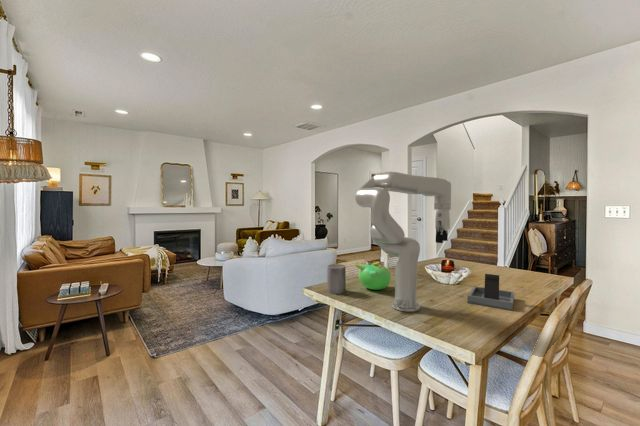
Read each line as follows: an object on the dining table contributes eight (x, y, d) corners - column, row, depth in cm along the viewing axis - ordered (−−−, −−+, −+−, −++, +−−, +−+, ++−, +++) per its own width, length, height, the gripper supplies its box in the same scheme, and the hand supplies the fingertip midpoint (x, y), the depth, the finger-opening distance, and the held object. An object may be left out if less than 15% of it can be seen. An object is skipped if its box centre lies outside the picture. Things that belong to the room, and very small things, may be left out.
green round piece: (396, 290, 164) (397, 263, 163) (375, 296, 153) (376, 267, 153) (371, 283, 178) (371, 258, 177) (350, 287, 167) (351, 261, 167)
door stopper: (498, 302, 141) (499, 277, 141) (483, 300, 144) (484, 275, 144) (499, 297, 149) (499, 273, 148) (485, 295, 152) (485, 272, 152)
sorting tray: (512, 310, 133) (512, 303, 133) (467, 302, 144) (467, 295, 143) (514, 299, 150) (514, 292, 150) (473, 292, 160) (474, 286, 160)
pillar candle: (336, 287, 167) (336, 260, 167) (349, 291, 160) (349, 263, 159) (323, 291, 161) (323, 263, 160) (336, 295, 154) (336, 266, 153)
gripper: (446, 207, 139) (445, 244, 139) (454, 206, 153) (453, 240, 153) (429, 206, 143) (428, 243, 143) (438, 206, 157) (438, 239, 158)
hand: (441, 241), depth 148 cm, fingers open, 9 cm apart
